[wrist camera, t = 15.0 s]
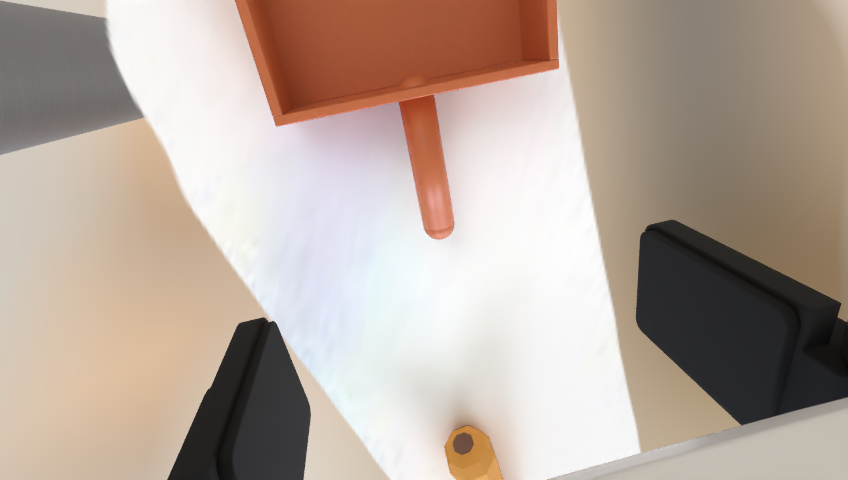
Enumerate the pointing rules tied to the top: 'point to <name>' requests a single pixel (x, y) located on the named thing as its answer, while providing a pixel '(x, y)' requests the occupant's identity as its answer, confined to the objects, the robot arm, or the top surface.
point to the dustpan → (395, 65)
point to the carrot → (471, 455)
